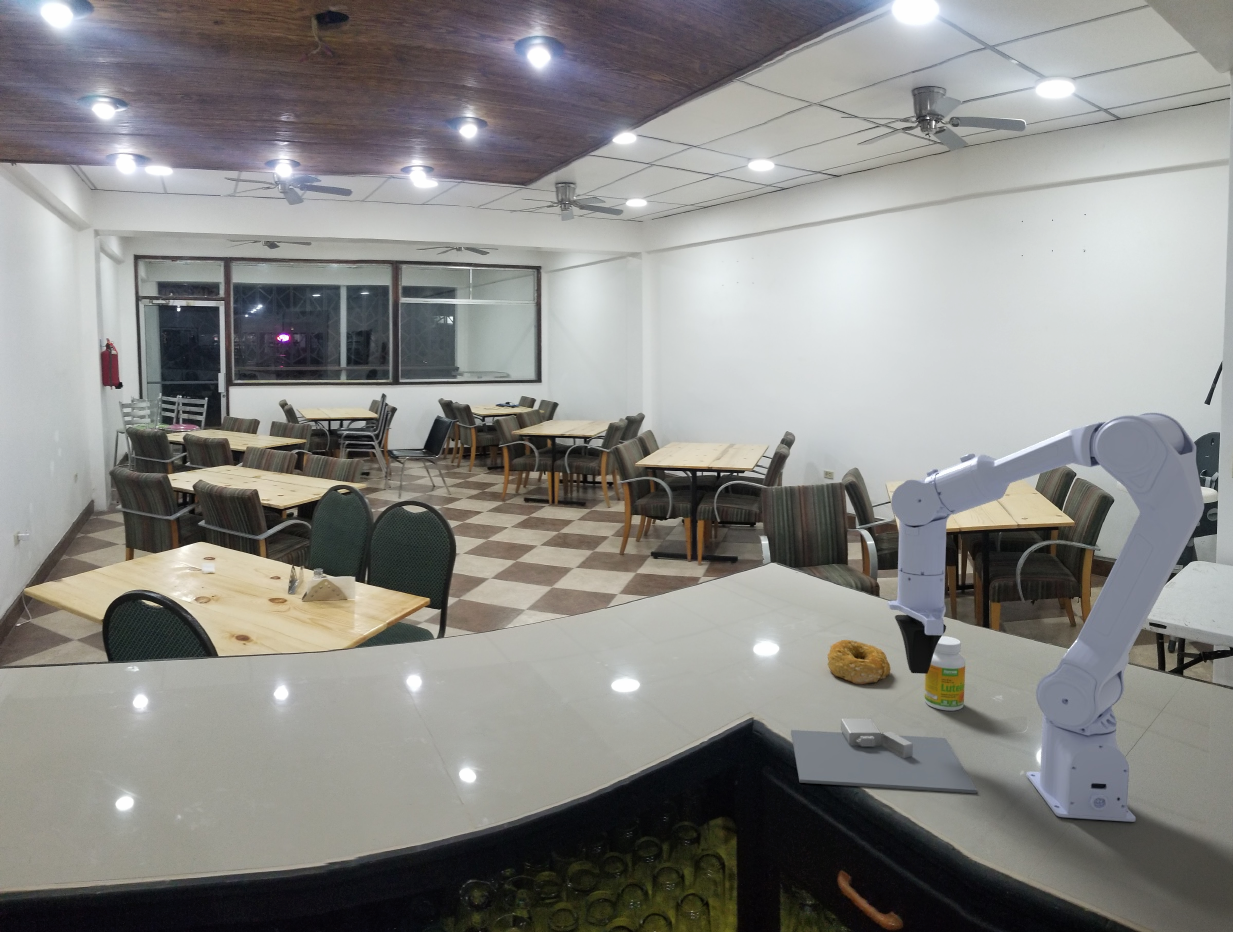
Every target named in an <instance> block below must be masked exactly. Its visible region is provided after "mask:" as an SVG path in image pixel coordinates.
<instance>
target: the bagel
mask: <svg viewBox="0 0 1233 932" xmlns="http://www.w3.org/2000/svg"><path fill="white" fill-rule="evenodd" d="M827 660H828V662H827V666H828V668H829V671H830V672H831V673H832V675H834V676H835V677H837V678H840V679H844V680H846V681H847V682H851V683H853V684H855V685H864V684H873V683H877V682H879V680H883V679H886V677H887V676H889V675H890V672H891V665H890V662H889V661H888V659H887V655H886V653H885V652H884V651H883V650H882V649H879V648H878V647H877V646H874V645H871V644H867V643H864V642H861V641H860V642H859V641H856V640H849V639H841V640H839V641H837V642H835V643H832V645H831V646H830V649H829V651H828V653H827Z"/></svg>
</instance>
